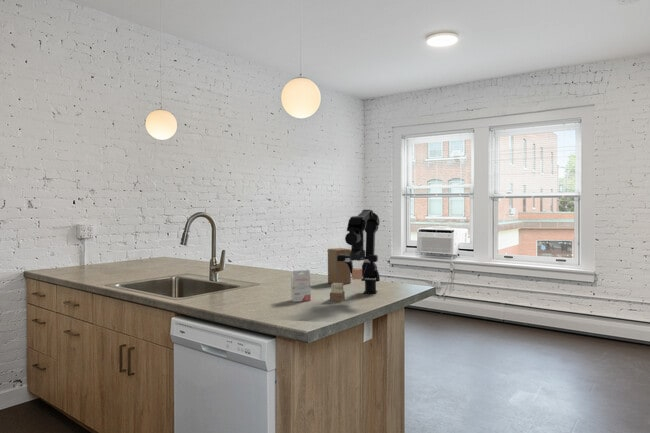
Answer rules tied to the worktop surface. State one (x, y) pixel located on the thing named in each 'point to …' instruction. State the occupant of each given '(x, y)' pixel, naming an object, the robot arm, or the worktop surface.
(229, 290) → the worktop surface
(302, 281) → the ink cartridge box
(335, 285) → the tower middle
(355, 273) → the terracotta block
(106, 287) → the worktop surface
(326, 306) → the worktop surface
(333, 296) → the tower base
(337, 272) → the wooden block
